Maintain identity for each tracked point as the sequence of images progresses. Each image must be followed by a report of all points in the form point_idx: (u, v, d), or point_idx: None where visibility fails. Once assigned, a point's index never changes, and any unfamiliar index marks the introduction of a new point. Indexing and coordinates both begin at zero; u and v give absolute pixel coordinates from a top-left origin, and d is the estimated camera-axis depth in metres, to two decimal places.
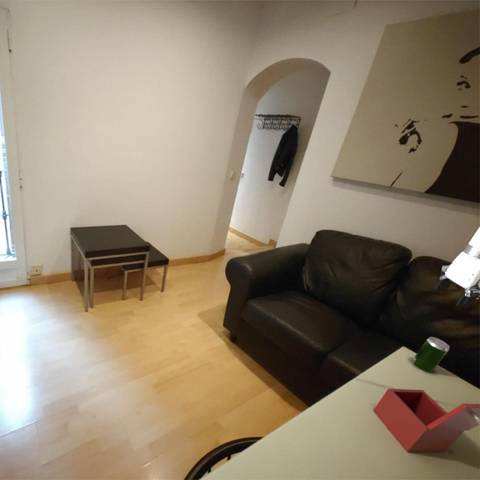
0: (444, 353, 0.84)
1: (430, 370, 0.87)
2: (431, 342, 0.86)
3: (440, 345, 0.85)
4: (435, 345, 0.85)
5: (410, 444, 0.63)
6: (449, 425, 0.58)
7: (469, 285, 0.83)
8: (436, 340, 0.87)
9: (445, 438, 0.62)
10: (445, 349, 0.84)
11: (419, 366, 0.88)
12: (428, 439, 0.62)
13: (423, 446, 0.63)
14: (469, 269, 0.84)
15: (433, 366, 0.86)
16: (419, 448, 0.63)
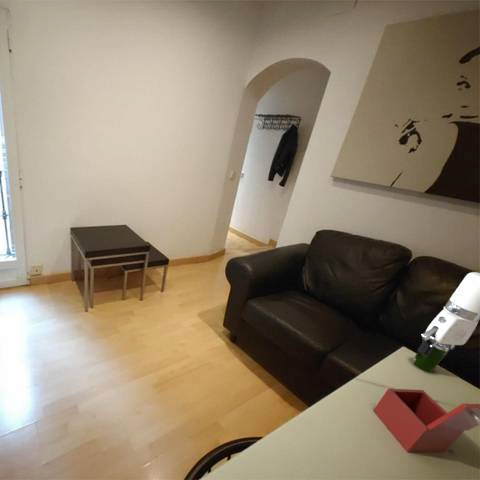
0: (444, 353, 0.84)
1: (430, 370, 0.87)
2: None
3: (440, 345, 0.85)
4: None
5: (410, 444, 0.63)
6: (449, 425, 0.58)
7: None
8: None
9: (445, 438, 0.62)
10: (445, 349, 0.84)
11: (419, 366, 0.88)
12: (428, 439, 0.62)
13: (423, 446, 0.63)
14: None
15: (433, 366, 0.86)
16: (419, 448, 0.63)
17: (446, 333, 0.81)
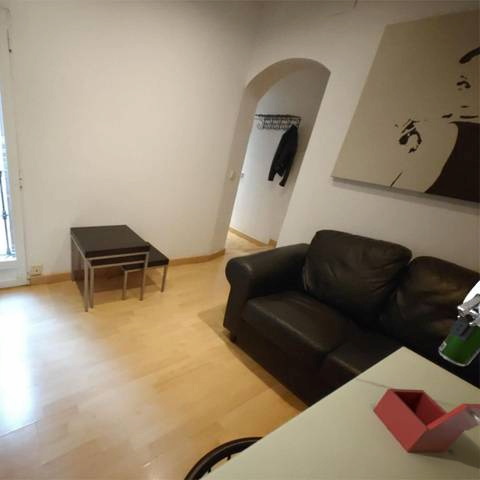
0: None
1: (468, 359, 0.61)
2: None
3: None
4: None
5: (410, 444, 0.63)
6: (449, 425, 0.58)
7: (464, 300, 0.59)
8: None
9: (445, 438, 0.62)
10: None
11: (452, 354, 0.62)
12: (428, 439, 0.62)
13: (423, 446, 0.63)
14: None
15: (473, 353, 0.60)
16: (419, 448, 0.63)
17: None
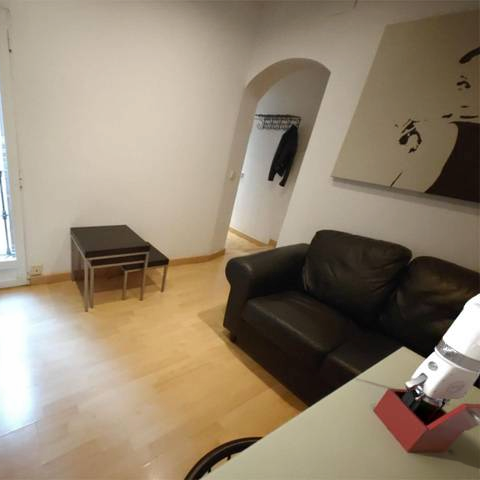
0: (436, 408, 0.63)
1: None
2: (419, 392, 0.65)
3: (431, 398, 0.63)
4: None
5: (410, 444, 0.63)
6: (449, 425, 0.58)
7: (412, 376, 0.64)
8: None
9: (445, 438, 0.62)
10: (437, 404, 0.63)
11: None
12: (428, 439, 0.62)
13: (423, 446, 0.63)
14: None
15: None
16: (419, 448, 0.63)
17: (438, 385, 0.59)
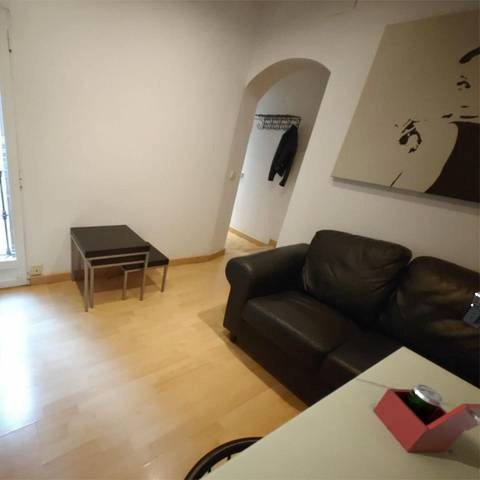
0: (436, 408, 0.63)
1: None
2: (419, 392, 0.65)
3: (431, 397, 0.63)
4: (424, 397, 0.64)
5: (410, 444, 0.63)
6: (449, 425, 0.58)
7: None
8: (426, 389, 0.66)
9: (445, 438, 0.62)
10: (437, 403, 0.63)
11: None
12: (428, 439, 0.62)
13: (423, 446, 0.63)
14: None
15: None
16: (419, 448, 0.63)
17: None
